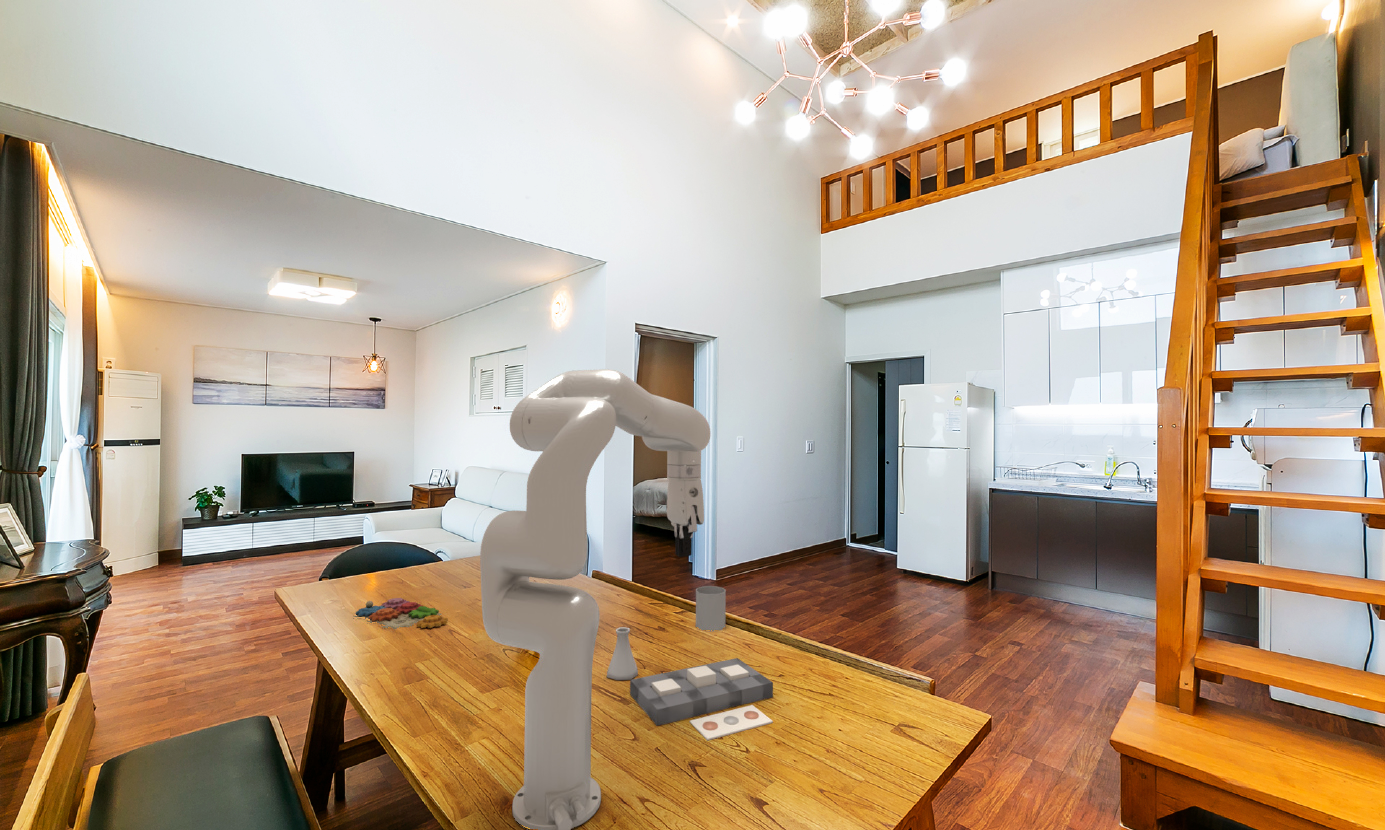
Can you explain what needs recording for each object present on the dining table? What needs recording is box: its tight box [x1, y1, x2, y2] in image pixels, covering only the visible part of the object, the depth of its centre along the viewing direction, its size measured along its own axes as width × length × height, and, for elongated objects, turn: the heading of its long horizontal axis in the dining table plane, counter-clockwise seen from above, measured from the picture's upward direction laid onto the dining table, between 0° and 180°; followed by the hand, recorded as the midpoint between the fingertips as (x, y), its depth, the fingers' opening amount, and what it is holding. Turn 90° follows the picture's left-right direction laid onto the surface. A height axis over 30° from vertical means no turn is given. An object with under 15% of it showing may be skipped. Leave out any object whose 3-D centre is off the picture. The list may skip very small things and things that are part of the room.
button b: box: [687, 665, 716, 688], centre depth 119 cm, size 4×4×4 cm
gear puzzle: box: [354, 597, 449, 630], centre depth 165 cm, size 31×16×4 cm, turn 58°
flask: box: [606, 626, 639, 681], centre depth 129 cm, size 7×7×10 cm
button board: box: [629, 657, 774, 727], centre depth 119 cm, size 14×26×3 cm, turn 117°
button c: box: [652, 679, 681, 696], centre depth 115 cm, size 4×4×4 cm
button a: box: [720, 665, 749, 681], centre depth 122 cm, size 4×4×4 cm
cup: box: [695, 585, 727, 632], centre depth 161 cm, size 8×8×10 cm
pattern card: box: [689, 704, 774, 741], centre depth 108 cm, size 7×14×1 cm, turn 117°
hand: (683, 555), depth 127 cm, fingers closed
